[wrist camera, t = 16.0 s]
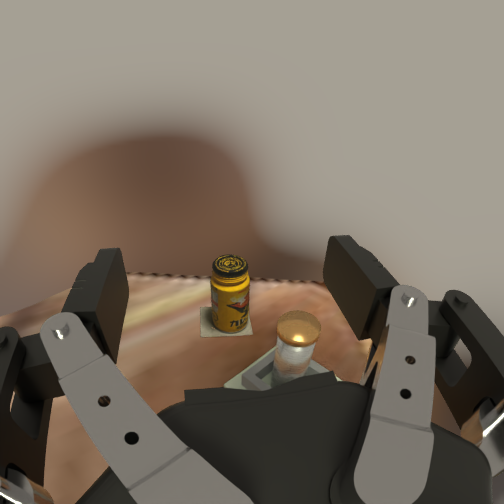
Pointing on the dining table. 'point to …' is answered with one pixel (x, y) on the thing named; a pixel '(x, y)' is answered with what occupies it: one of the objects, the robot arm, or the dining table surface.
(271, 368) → the dock
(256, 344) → the dining table surface
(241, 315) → the condiment
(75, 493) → the dining table surface
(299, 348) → the glass storage jar
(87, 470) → the dining table surface
